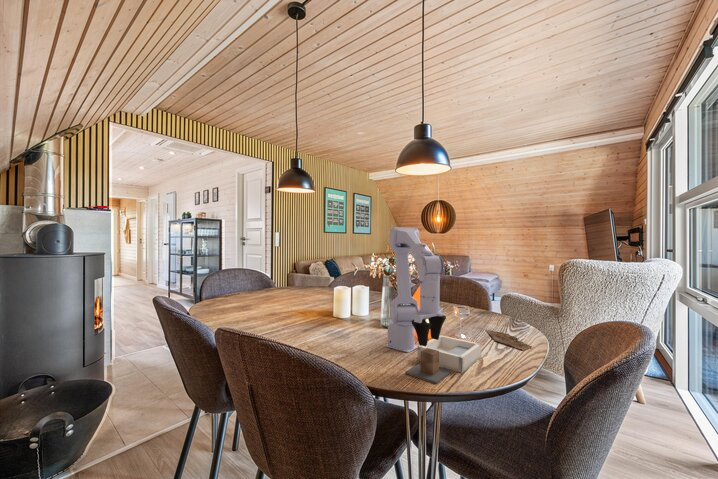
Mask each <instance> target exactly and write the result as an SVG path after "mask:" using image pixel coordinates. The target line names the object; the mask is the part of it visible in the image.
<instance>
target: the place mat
mask: <svg viewBox="0 0 718 479" xmlns="http://www.w3.org/2000/svg"><path fill="white" fill-rule="evenodd" d="M452 373H453V370H451V369H447V368H444V367H440V366H439V371H438V372H437V373H436V374H434V375H430V374H426V373H423V372H420V362H419V363H418V364H416V365H414V366H412V367H411V368H410V369H408V370H406V371H405V373H404V374H405V375H408V376H411V377H413V378H417V379H420V380H424V381H426V382H429V383H433V384H435V385H437V384H439V383H440V382H441V381H443V380H444V379H445V378H447V377H448V376H450V375H451V374H452Z"/></svg>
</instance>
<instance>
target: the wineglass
mask: <svg viewBox="0 0 718 479" xmlns="http://www.w3.org/2000/svg"><path fill="white" fill-rule="evenodd" d="M470 308H471V307H470V306H469V305H463V304H455V305H453V310H452V313H453V315H454V317H455V318H457V319H458V320H459V322H460V333H455V334H454V336H455V337H458V338H463V339H464V338H465V339H466V338H468V334H467V335H466V334H465V333H464V334H463V321H464V320H466V319H467V318H469V316H470V315H471V310H470Z"/></svg>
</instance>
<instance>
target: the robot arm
mask: <svg viewBox="0 0 718 479" xmlns="http://www.w3.org/2000/svg"><path fill="white" fill-rule="evenodd" d="M389 247H390V251H392V252H394V259H395V273H396V287H397V288H396V289H397V291H396V292H397V296H395V297H394V299H392V301H390V310H389V315H390V316H389V317H390V320H391V321H390V323H388V327H387V344H386V348H389V349H394V350H397V351H401V352H405V353H410V352H412V351H414V350H416V349H418V346H420V345H421V346H427V342H428V341H429V339H428V334H429V330H430V333H431V339H436V340H438V339H439V336H440V335H441V330H442V328H443V324H444V322H446V319H447V316H446V315H444V307H441V306H440V302H441V301H440V300H441V298H440V295H441V292H440V291H441V290H440V289H441V287H440V285H441V282H440V281H441V280H440V279H441V275H442V274H444V273H443V272H444V266H445V264H444V259H443V258H442V256H441V255H438V254H434V253H433V252H432V250H431V249H430V248H429V246H428V244H426V243H425V242H421V240H420V231H419V229H418V228H417V227H416V226H413V227H407V226H406V227H402V226H399V227H397V226H393V227H391V228H390V230H389ZM410 252H411V256H412V257H413V259H414V261H415V263H416V270H417V274H418V275H417V276H418V277H417V278H418V281H419V286H420V310H419V307H418V301H417V300H415V299H414V298H413V296H412V293H411V291H412V290H411V280H410V276H411V275H410V266H409V265H410V264H409V263H410V262H409V253H410ZM426 319H428V320H429V323H427V321H426ZM415 331H416V334H417V337H418V338H417V337H416V336H415ZM416 338H417V341H418V344H415V342H416V340H415V339H416ZM431 339H430V340H431Z"/></svg>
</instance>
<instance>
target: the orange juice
mask: <svg viewBox="0 0 718 479" xmlns="http://www.w3.org/2000/svg"><path fill="white" fill-rule="evenodd" d="M412 297H413V298H414V299H415V300H417V301H418V307H419V310H420V285H419V286H418V288H417V289H416V291H415V292H414V294H413V296H412ZM426 321H427V323H429V320H428V319H426ZM415 338H417V339H418V337H417V334H416V331H415ZM428 340H431V333H430V330H429V334H428Z"/></svg>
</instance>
